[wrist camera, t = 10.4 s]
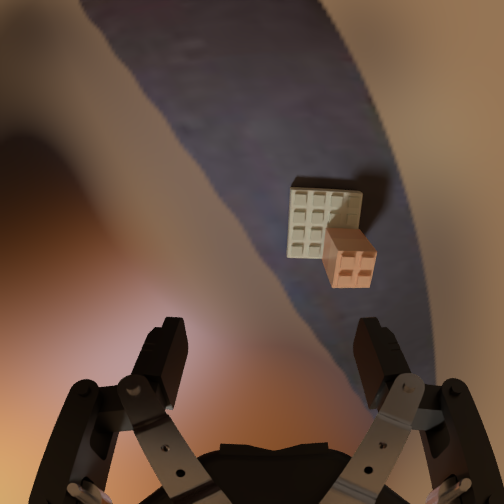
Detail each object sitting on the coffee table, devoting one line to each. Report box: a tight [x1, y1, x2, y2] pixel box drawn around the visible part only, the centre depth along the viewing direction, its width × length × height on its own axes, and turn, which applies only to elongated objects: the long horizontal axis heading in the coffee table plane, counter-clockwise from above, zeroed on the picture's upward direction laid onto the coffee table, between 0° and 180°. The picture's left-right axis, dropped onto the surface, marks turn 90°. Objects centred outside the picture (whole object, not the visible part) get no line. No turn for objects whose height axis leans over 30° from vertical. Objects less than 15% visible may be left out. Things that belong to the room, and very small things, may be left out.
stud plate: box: [287, 187, 363, 258], centre depth 33 cm, size 8×8×2 cm
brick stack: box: [322, 228, 377, 288], centre depth 31 cm, size 4×4×6 cm
